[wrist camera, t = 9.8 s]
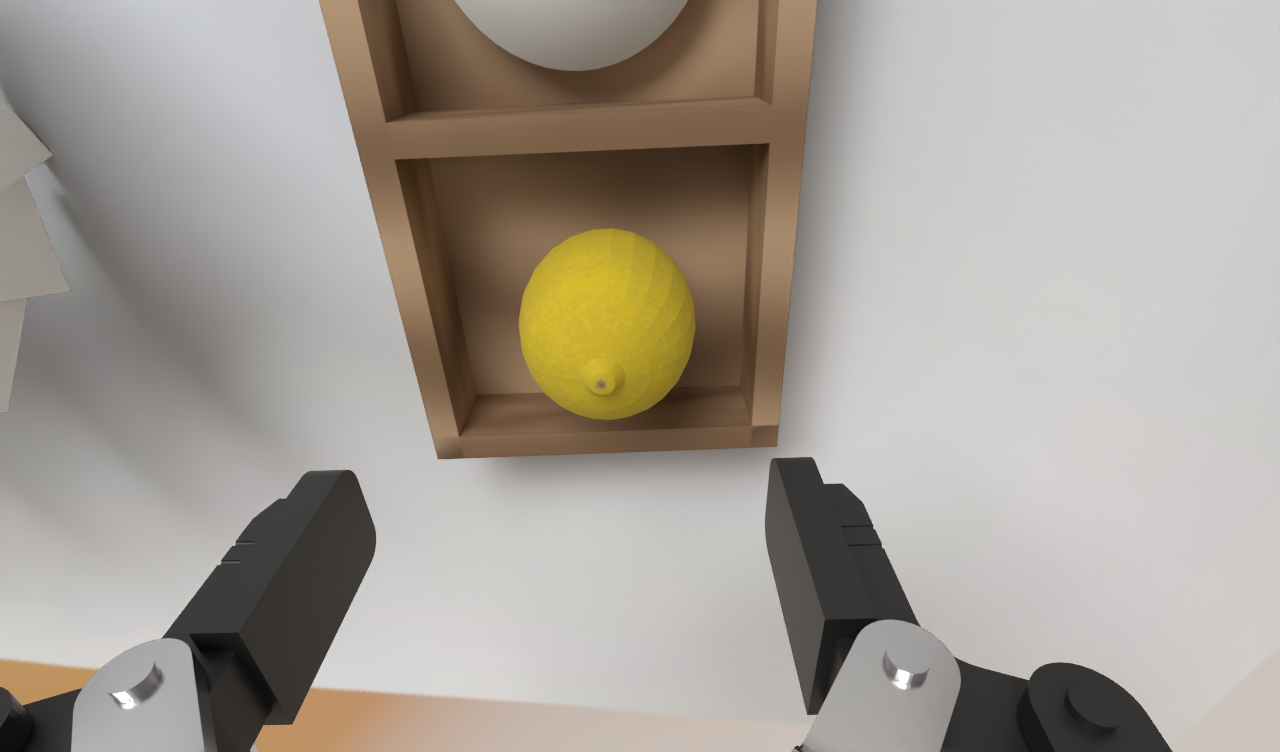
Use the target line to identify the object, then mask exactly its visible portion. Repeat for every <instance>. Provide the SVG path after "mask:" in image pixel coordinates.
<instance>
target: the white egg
mask: <svg viewBox="0 0 1280 752" xmlns="http://www.w3.org/2000/svg"><path fill="white" fill-rule="evenodd" d="M687 1H688V0H455V2H456V3H457V4H458V6H459V7H460V8H461V10H462V11H463V12H464V14H465V15H466V16H467V17H468V18H469V19H470V20H471V21H472V22H473V24H474V25H475V26H476V27H477V28H478V29H479V30H480V31H481V32H482V33H484V34H485V35H486V36H487V37H488V38H490V39H491V40H492V41H493V42H494V43H496V44H497V45H499V46H500V47H502V48H503V49H505V50H506V51H508V52H509V53H511V54H513V55H515V56H517V57H519V58H521V59H523V60H525V61H527V62H530V63H533V64H536V65H539V66H542V67H546V68H551V69H557V70H563V71H584V70H593V69H599V68H603V67H606V66H610V65H614V64H616V63H618V62H621V61H623V60H625V59H628V58H630V57H632V56H633V55H635V54H636V53H638V52H640V51H641V50H643V49H645V48H646V47H647V46H649V45H650V44H651V43H652V42H653V41H655V40H656V39H657V38H658V37H659V36H661V34H662V33H663V32H664V31H665V30H666V29H667V28H668V27H669V26H670V25H671V24H672V23H673V22H674V20H675V19H676V17H677V16H678V15H679V13H680V12H681V10H682V9H683V8H684V6H685V5H686V3H687Z"/></svg>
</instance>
